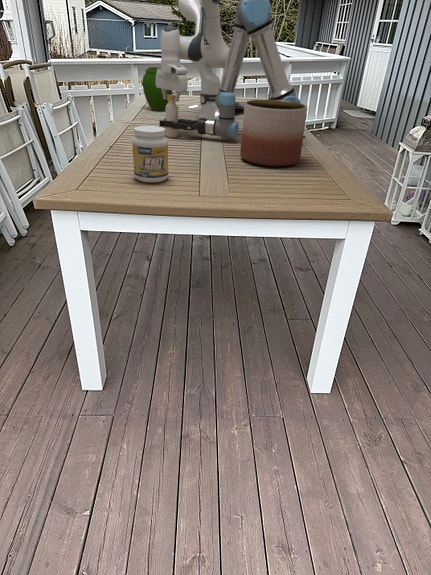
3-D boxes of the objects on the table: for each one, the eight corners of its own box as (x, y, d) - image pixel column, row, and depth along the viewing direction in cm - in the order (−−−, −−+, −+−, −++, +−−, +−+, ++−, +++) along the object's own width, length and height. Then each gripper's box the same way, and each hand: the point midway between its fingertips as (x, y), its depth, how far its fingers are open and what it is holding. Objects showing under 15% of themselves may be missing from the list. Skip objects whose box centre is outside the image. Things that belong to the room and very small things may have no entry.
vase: (143, 107, 275) (142, 66, 262) (173, 108, 277) (172, 67, 264) (142, 112, 259) (140, 68, 246) (173, 113, 261) (173, 70, 248)
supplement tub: (139, 184, 140) (136, 133, 131) (130, 174, 149) (127, 125, 140) (173, 181, 144) (172, 131, 135) (162, 172, 153) (161, 124, 144)
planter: (308, 168, 166) (317, 110, 154) (247, 168, 162) (252, 108, 150) (288, 152, 187) (295, 100, 175) (234, 152, 183) (238, 98, 171)
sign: (232, 108, 270) (231, 101, 295) (232, 112, 272) (230, 105, 297) (261, 109, 270) (257, 102, 296) (260, 114, 272) (257, 107, 297)
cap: (171, 100, 195) (171, 96, 194) (165, 99, 197) (165, 95, 196) (178, 100, 198) (178, 95, 197) (171, 98, 200) (171, 94, 199)
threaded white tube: (163, 136, 205) (162, 96, 195) (170, 133, 210) (169, 95, 200) (174, 137, 203) (173, 97, 193) (180, 135, 208) (180, 96, 198)
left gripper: (151, 66, 195) (152, 97, 202) (179, 70, 182) (179, 103, 190) (162, 65, 198) (163, 97, 206) (190, 69, 186) (189, 102, 194)
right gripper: (200, 138, 194) (155, 133, 198) (211, 130, 210) (169, 126, 214) (201, 121, 190) (154, 117, 194) (212, 115, 206) (168, 111, 210)
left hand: (171, 100), depth 198 cm, fingers open, 7 cm apart
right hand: (162, 122), depth 204 cm, fingers closed on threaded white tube, 6 cm apart
